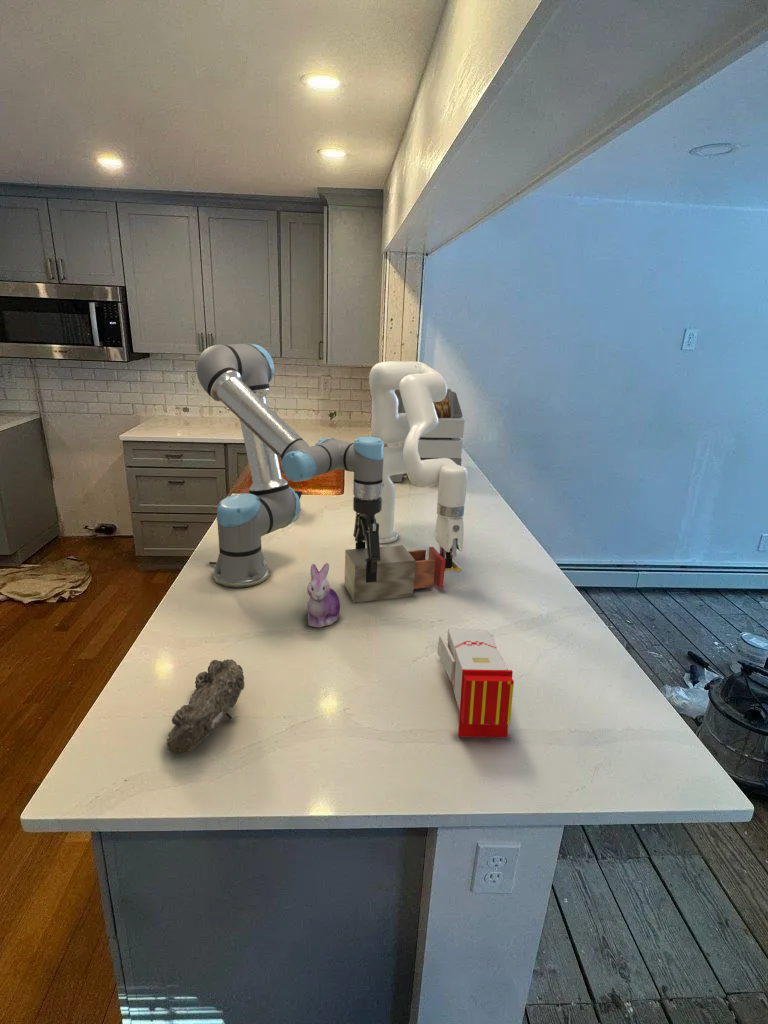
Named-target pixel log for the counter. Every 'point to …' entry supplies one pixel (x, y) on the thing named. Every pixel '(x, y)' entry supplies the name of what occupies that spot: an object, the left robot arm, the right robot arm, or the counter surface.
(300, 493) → the figurine character
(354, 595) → the cabinet
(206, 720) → the fossil
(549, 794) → the counter surface
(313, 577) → the figurine
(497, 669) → the toy
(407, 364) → the right robot arm
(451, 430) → the transformer
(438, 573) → the drawer
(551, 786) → the counter surface
